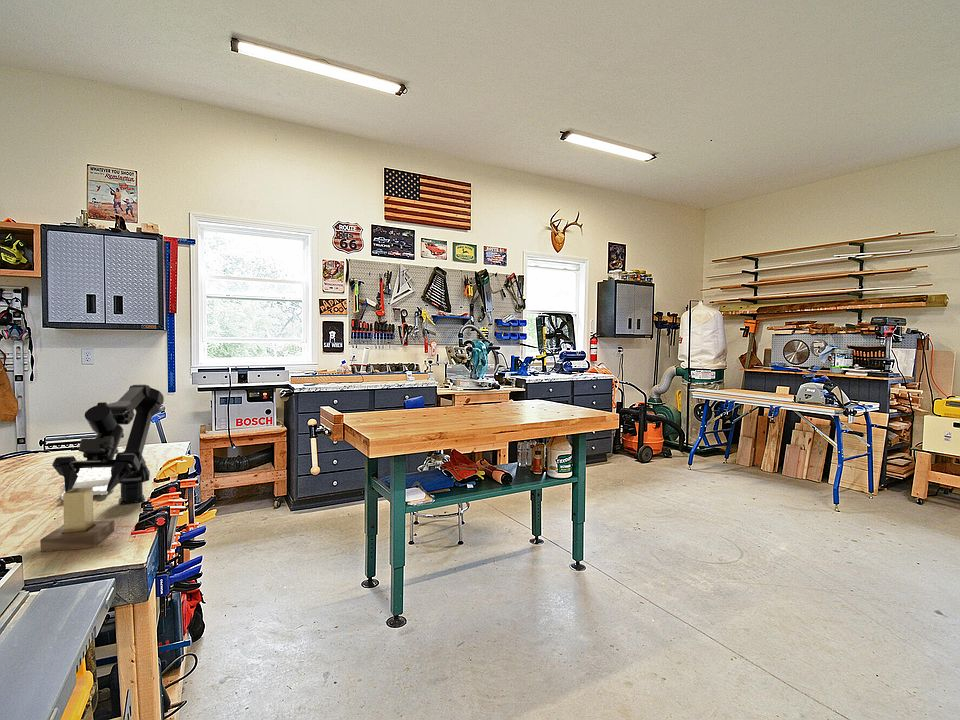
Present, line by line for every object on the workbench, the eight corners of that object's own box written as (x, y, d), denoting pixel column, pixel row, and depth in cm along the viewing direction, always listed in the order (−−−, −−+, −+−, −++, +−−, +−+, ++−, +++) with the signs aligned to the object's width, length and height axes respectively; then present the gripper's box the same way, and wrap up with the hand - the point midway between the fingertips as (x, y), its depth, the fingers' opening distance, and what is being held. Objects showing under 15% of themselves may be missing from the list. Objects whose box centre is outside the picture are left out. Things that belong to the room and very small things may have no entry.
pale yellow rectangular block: (73, 538, 126) (72, 488, 126) (93, 536, 127) (92, 487, 127) (64, 545, 122) (63, 493, 122) (85, 543, 123) (84, 492, 123)
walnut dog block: (65, 534, 129) (65, 523, 129) (114, 530, 132) (114, 519, 131) (40, 551, 118) (40, 539, 118) (94, 547, 121) (93, 535, 121)
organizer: (122, 461, 188) (109, 484, 158) (122, 473, 188) (110, 499, 158) (79, 465, 181) (57, 490, 151) (79, 478, 182) (57, 506, 152)
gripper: (55, 427, 131) (30, 479, 121) (135, 424, 136) (118, 474, 125) (71, 450, 139) (49, 500, 128) (147, 447, 144) (131, 495, 133)
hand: (87, 492), depth 129 cm, fingers open, 9 cm apart
